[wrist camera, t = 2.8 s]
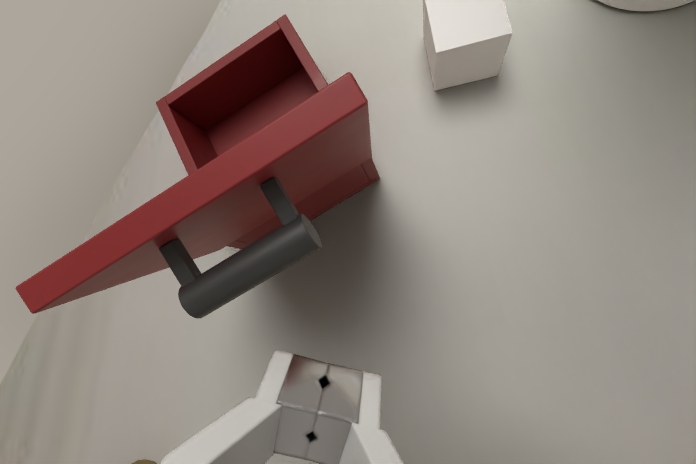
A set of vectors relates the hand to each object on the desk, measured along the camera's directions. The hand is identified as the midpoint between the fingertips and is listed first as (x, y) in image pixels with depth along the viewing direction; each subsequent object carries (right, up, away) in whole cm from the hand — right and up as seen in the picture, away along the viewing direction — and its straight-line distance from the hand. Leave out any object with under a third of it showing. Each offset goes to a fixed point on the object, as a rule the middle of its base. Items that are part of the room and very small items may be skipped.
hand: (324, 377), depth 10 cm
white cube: (+12, +21, +25) cm, 35 cm away
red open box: (-6, +12, +28) cm, 31 cm away
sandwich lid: (-5, +6, +11) cm, 13 cm away
